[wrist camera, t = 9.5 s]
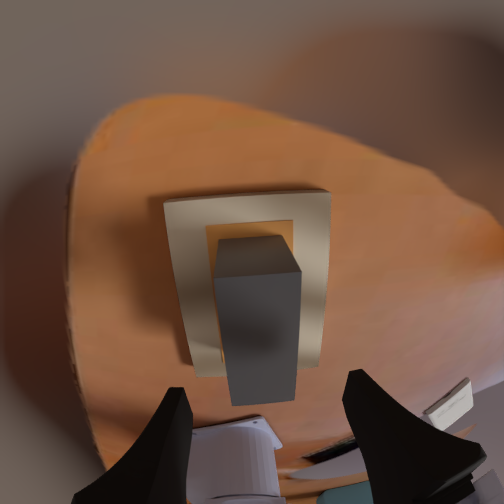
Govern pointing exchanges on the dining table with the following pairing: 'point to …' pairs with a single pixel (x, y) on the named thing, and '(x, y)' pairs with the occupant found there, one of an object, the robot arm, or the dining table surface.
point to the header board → (239, 226)
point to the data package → (348, 495)
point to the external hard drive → (451, 406)
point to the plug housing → (258, 317)
